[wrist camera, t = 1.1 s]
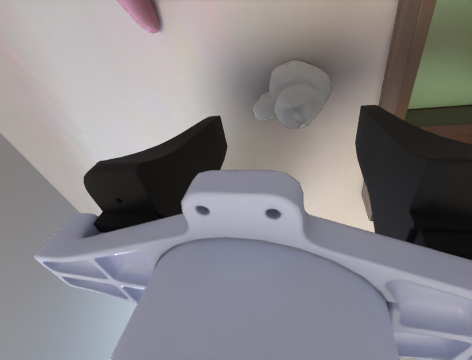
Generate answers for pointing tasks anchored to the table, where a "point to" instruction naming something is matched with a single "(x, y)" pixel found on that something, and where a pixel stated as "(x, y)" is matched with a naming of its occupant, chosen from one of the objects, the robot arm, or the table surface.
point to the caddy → (430, 70)
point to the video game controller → (142, 13)
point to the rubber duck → (294, 94)
